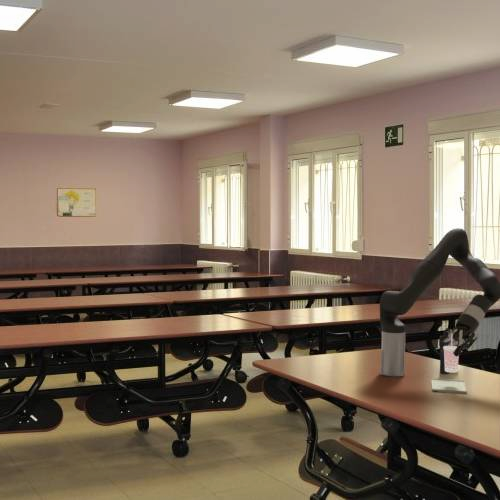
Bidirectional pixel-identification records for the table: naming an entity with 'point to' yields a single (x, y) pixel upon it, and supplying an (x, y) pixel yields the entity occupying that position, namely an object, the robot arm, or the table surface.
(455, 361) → the beverage cup
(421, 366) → the table surface
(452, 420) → the table surface
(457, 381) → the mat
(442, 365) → the grey and red box
